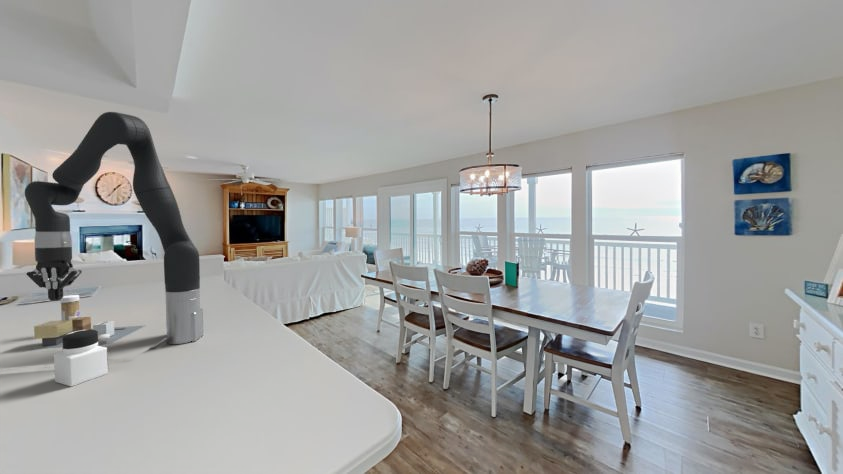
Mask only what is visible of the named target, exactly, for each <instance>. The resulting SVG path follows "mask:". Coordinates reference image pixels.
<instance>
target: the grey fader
mask: <svg viewBox="0 0 843 474" xmlns="http://www.w3.org/2000/svg"><path fill="white" fill-rule="evenodd" d="M114 327H115V321H114V320H111V321H100V322H98V323H95V324H93V325H92V329H93V330H96V331H98V336H99V335H102V334H110V336H112V335H114Z"/></svg>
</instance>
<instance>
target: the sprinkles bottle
mask: <svg viewBox="0 0 843 474" xmlns="http://www.w3.org/2000/svg"><path fill="white" fill-rule="evenodd" d="M59 301H60V306H61V309H60V310H61V311H60V314H61V316H60V317H61V320H72V319H75V318H78V317H81V315H80V314H81V312H80V295H79V294H72V295H69V294H68V295H63V298H62V299H61V300H59Z"/></svg>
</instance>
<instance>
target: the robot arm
mask: <svg viewBox="0 0 843 474" xmlns="http://www.w3.org/2000/svg"><path fill="white" fill-rule="evenodd" d="M150 131H151V130H150V128H149V127H148V125H147V124H146V122H145V121H144V120H142V119H141V118H140V117H138V116H134V115H130V114H127V113H123V112H116V111H107V112H103V113H102V114H100V115H99V116H98V117H97V118H96V119H95V121H94V122H93V123H92V125H91V127H90V128H89V130H88V132H87V133H86V134H85V136H84V137H83V138H82V140H81V142H80V143H79V144H78V147H77V148H76V149H75V150H74V151H73V152H72V154H70V156H68V158H66V159H65V160H64V161H63V162H62V163H61V164H60V165H59V166H58V167H56V168H55V170H54V171H53V172H52V175H51V176H52V179H53V180H54V181H55V182H49V181H39V180H35V181H32V182H29V183H28V184H27V185H26V186H25V189H24V197H25V200H26V202H27V204H28V206H29V208H30V210H31V213H32V216H33V217H34V223H35V227H34V230H35V232H34V233H35V235H34V259H35V262H36V265H35V268H34V269H33V270H32V271H27V272H26V276H27V277H28V278H30V280H32V282H33V283H35V284H36V286H38V287H39V288H45V289H47V299H48V300H49V301H50V302H52V301H53V302H58V301H60V300H61V299H62V298H63V296H64V288H65V287H68V286H71V285H72V284H73V283H74V282H75V280H76V279H77V278H78V277H79V276H80V275H81V274H82V272H83V271H82V270H80V269H78V270H77V269H76V268H74V265H73V264H72V260H73V241H72V240H73V239H72V235H71V223H70V222H71V220H70V216H69V215H68V214H66V213H62V212H59V211H56V210H55V209H54V207H53V206H62V207H63V206H69V205H72V204H73V203H75V202H76V201H77V200H78V199H79V196H80V195H81V192H82V190H83V188H84V185H85V184H87V182H89V181H90V180H91V179H92V178H93V177H94V176H95V175H97V173H98V172H99V170H100V168H101V163H102V159H103V156H104V155H105V154H106V153H107V152H108V151H109V150H111V149H112V148H113V147H115V146H117V145H123V146H124V145H125V146H126V148H127V149H128V150H129V153H130V155H131V158H132V160H133V164H134V165H133V166H134V171H133V178H132V190H133V192H134V195H135V197H136V199H137V202H138V204H139V206H140V209H142V211H143V213H144V215H145V216H146V218H147V219H148V221H149V223H151V225H152V226H153V228H154V229H155V231H156V233H157V234H158V237H159V240H160V242H161V245H162V249H163V252H164V253H163V272H164V273H163V274H164V289H165V318H166V321H165V322H166V325H165V326H166V343H167V344H168V345H181V344H186V343H191V341H192V342H197V341H198V340H199V339H200V338H202V337H203V336H204V335H203V334H204V309H203V308H201V290H200V289H201V286H200V284H201V283H200V281H201V276H200V274H201V273H200V271H201V270H200V267H201V266H200V253H199V250H198V249H197V247H196V246H195V244H194V243H193V241H192V240H191V238H190V236H189V234H188V232H187V231H186V229H185V226H184V224H183V220H182V215H181V211H180V208H179V206H178V202H177V200H176V199H177V198H176V197H175V194H174V193H173V190H172V188H171V185H170V183H169V181H168V179H167V176H166V175H165V172H164V170H163V167H162V164H161V161H160V160H159V156H158V154H157V151H156V147H155V143H154V140H153V137H152V134H151V132H150ZM202 335H203V336H202ZM201 336H202V337H201ZM199 337H200V338H199ZM198 338H199V339H198ZM197 339H198V340H197Z"/></svg>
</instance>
